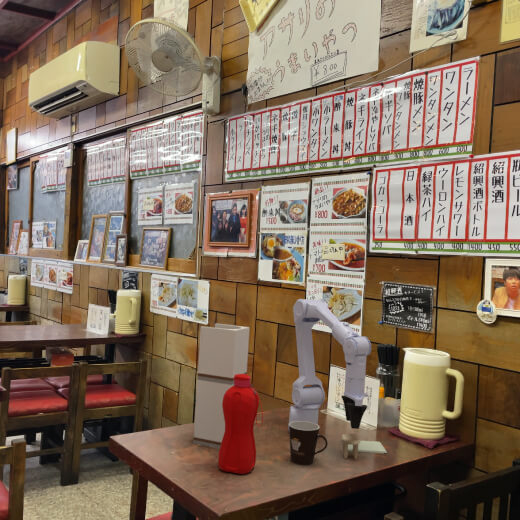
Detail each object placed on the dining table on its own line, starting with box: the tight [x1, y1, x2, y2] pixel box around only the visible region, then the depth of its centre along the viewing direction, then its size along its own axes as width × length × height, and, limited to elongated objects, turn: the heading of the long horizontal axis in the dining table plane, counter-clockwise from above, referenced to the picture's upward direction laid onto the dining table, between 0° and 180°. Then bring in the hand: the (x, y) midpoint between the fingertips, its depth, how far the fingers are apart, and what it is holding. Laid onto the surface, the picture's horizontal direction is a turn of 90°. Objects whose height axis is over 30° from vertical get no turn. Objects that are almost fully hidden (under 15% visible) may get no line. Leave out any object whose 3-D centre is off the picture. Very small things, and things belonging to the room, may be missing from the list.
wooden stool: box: [341, 432, 361, 460], centre depth 159 cm, size 5×5×6 cm
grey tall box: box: [192, 323, 250, 450], centre depth 164 cm, size 11×11×35 cm
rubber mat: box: [348, 440, 388, 454], centre depth 168 cm, size 12×9×1 cm
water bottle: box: [218, 374, 264, 475], centre depth 144 cm, size 9×11×25 cm
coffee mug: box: [288, 421, 329, 466], centre depth 152 cm, size 12×9×10 cm
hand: (352, 424), depth 159 cm, fingers open, 7 cm apart
